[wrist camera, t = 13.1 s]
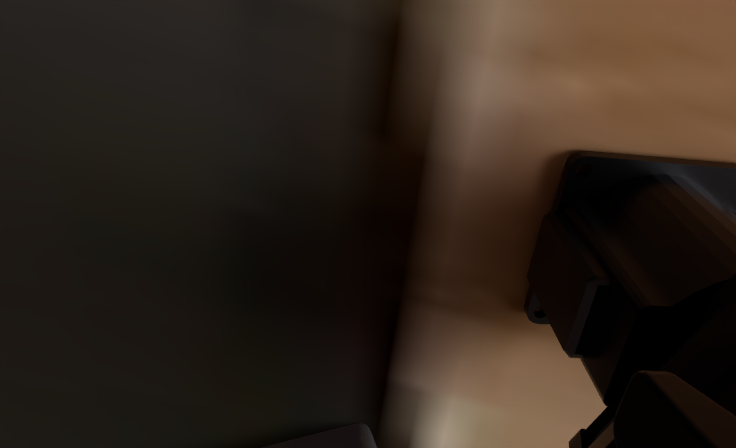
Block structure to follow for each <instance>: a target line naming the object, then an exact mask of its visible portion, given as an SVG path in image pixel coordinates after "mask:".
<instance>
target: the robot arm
mask: <svg viewBox="0 0 736 448" xmlns="http://www.w3.org/2000/svg"><path fill="white" fill-rule="evenodd" d="M585 163H588V166H587V168H586V170H584V171H583V172H580V173H577V172H576V170H577V168H578V167H579V166H580V165H581V164H585ZM527 279H528V281H529V283H530V287H529V290H528V294H527V297H526V301H525V304H524V310H525V312H526V314H527V316H528V319H529V320H530V321H531V322H533V323H537V324H550V325H551V327H552V329H553V331H554V333H555V335H556V337H557V339H558V341H559V343H560V344H561V346H562V348H563V350H564V351H565V353H566V354H567V355H568V356H569V357H570V358H580V359H581V361H582V363H583V365H584V367H585V369H586V371H587V372H588V374H589V376H590V378H591V380H592V382H593V384H594V386H595V388H596V389H597V391H598V393H599V395H600V397H601V399H602V401H603V403H604V404H605V405H606V406H608V407H607V408H606V409H605V410H604V411H603V412H602V413H601V414H600V415H599V416H598V417H597V418H596V419H595V420H594V421H593V422H592V423H591V425H590V426H589V427H588V428H587V429H580V430H579V431H578V433H577V434H576V435H575V436H574V437H573V438H572V439H571V440H570V441H569V448H736V164H730V163H719V162H707V161H695V160H684V159H672V158H660V157H649V156H637V155H625V154H614V153H602V152H590V151H579V152H576V153H574V154H572V155H571V156H570V157H569V158H568V159H567V161H566V163H565V165H564V169H563V172H562V176H561V179H560V183H559V186H558V190H557V193H556V197H555V200H554V204H553V207H552V210H551V211H549V212H548V213H547V214H546V215H545V216H544V218H543V221H542V225H541V228H540V232H539V235H538V239H537V243H536V246H535V250H534V253H533V257H532V260H531V264H530V267H529V271H528V274H527ZM538 307H542V310H540V311H535V310H536V309H537V308H538Z"/></svg>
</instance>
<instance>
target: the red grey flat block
mask: <svg viewBox="0 0 736 448" xmlns="http://www.w3.org/2000/svg"><path fill="white" fill-rule="evenodd" d="M261 448H377V446H376V444H375V441H374V439H373V436H372V434H371V431H370V429H369V427H368V426H367V425H365V424H362V423H356V424H351V425H347V426H343V427H339V428H335V429H331V430H327V431H323V432H319V433H316V434H312V435H308V436H304V437H300V438H296V439H292V440H288V441H284V442H280V443H276V444H273V445H269V446H265V447H261Z"/></svg>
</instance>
